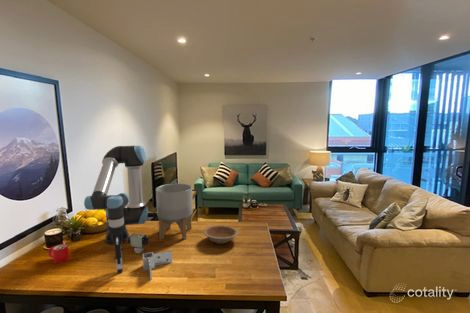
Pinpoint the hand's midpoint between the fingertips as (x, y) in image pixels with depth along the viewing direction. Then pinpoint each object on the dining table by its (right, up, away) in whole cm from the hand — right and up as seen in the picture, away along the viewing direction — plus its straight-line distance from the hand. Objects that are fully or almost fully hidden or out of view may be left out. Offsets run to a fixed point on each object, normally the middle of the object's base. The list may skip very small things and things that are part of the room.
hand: (119, 265), depth 142 cm
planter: (+20, +3, +48) cm, 52 cm away
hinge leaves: (+21, -3, +3) cm, 21 cm away
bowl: (+53, +1, +36) cm, 64 cm away
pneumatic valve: (+3, -1, +22) cm, 22 cm away
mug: (-43, -2, +14) cm, 45 cm away
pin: (0, -4, +1) cm, 4 cm away
